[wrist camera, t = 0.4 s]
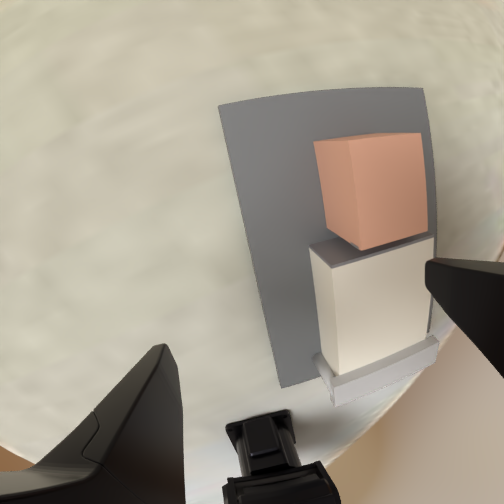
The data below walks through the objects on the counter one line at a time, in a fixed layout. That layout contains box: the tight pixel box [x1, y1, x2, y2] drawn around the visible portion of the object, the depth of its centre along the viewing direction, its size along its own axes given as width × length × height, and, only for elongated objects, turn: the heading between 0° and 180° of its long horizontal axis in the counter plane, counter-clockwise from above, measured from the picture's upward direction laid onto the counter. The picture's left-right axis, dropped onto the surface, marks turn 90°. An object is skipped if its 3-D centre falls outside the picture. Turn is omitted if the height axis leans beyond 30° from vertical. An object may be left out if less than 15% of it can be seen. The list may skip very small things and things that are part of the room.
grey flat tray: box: [218, 87, 440, 407], centre depth 20 cm, size 23×16×6 cm
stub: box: [313, 133, 428, 251], centre depth 18 cm, size 6×5×5 cm
